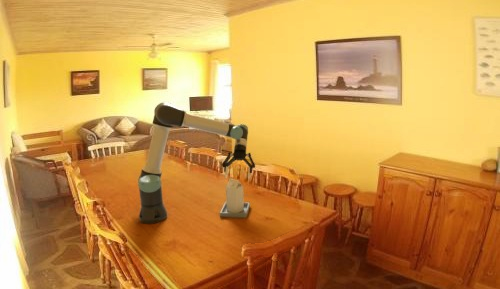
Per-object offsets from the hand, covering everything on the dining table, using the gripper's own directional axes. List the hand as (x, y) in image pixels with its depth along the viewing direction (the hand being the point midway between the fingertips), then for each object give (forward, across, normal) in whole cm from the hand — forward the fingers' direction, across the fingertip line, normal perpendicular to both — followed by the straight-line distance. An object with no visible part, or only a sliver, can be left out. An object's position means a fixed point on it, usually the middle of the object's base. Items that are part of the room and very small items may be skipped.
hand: (237, 177), depth 177 cm
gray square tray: (+18, 0, -8) cm, 20 cm away
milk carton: (+18, 0, -8) cm, 19 cm away
